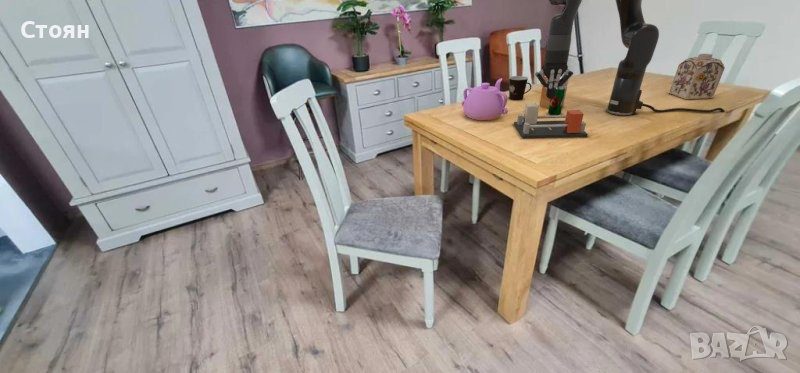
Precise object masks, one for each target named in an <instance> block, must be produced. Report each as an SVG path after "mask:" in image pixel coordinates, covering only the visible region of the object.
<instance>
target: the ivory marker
mask: <svg viewBox="0 0 800 373" xmlns="http://www.w3.org/2000/svg"><path fill="white" fill-rule="evenodd" d="M539 109H540V105H539V104H537V102H527V103H524V109H523V116H526V118H525V119H523V122H525V123H529V124H536V123H537V121H538V119H537V116H539Z"/></svg>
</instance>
